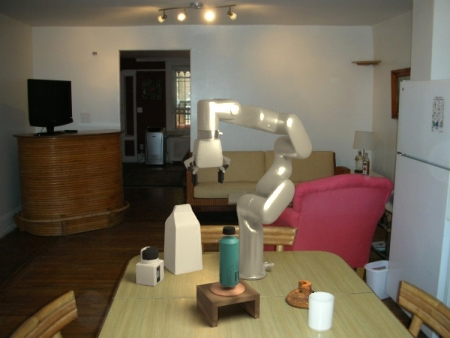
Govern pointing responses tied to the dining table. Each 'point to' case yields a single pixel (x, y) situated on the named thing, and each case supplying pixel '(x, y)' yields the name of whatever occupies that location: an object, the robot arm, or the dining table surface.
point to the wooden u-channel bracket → (226, 299)
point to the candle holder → (300, 295)
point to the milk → (182, 241)
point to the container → (149, 267)
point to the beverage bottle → (229, 258)
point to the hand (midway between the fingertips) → (207, 183)
